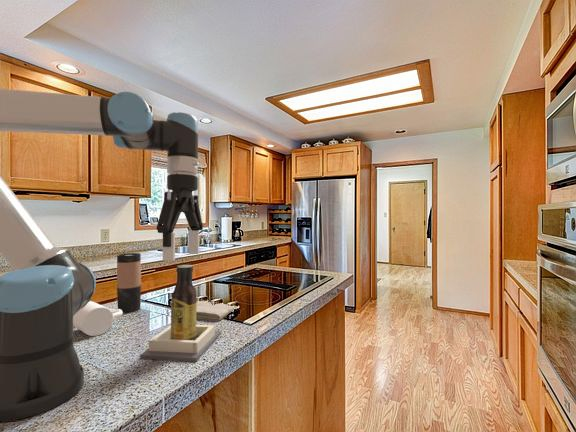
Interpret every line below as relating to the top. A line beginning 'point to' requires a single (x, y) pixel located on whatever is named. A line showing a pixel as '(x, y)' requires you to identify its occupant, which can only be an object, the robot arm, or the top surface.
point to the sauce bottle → (183, 305)
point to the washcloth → (212, 311)
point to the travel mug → (129, 282)
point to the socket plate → (181, 345)
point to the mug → (95, 318)
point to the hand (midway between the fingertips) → (182, 257)
